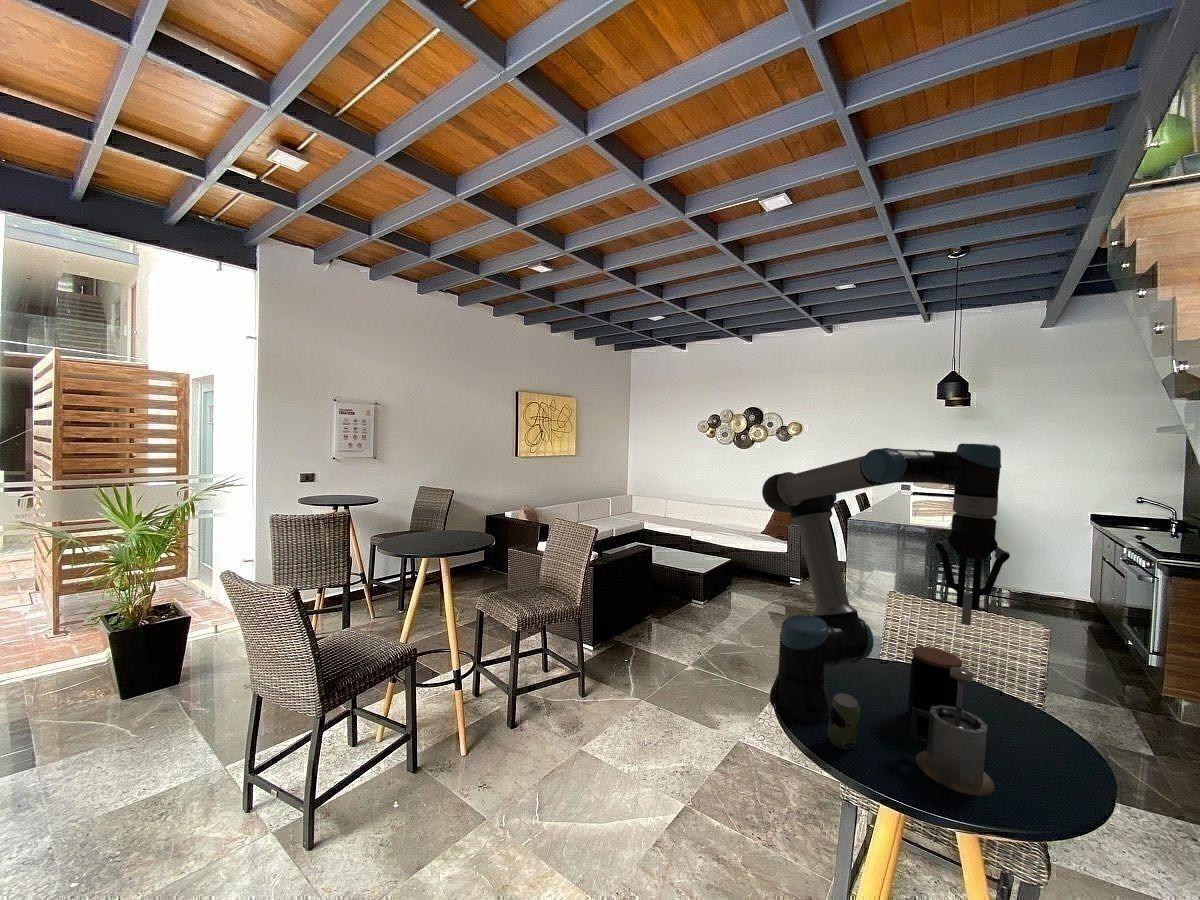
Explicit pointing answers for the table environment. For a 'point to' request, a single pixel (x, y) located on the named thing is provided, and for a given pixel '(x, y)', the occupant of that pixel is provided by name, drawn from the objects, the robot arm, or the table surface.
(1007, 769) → the table surface
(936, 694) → the coffee jar
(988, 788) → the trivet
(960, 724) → the plunger
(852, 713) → the beverage can
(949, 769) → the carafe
